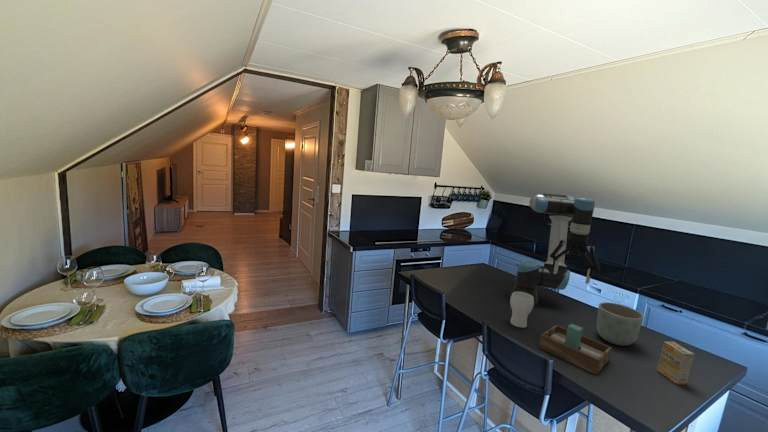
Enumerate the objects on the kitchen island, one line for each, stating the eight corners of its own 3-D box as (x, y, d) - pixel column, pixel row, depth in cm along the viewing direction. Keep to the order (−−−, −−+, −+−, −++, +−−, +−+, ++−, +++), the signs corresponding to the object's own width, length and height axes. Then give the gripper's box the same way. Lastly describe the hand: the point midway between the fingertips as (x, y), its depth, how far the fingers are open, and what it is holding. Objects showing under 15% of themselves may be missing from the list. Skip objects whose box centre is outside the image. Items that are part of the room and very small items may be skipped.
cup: (532, 330, 155) (537, 301, 153) (509, 327, 157) (513, 297, 155) (527, 320, 166) (531, 292, 163) (505, 317, 168) (509, 289, 165)
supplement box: (655, 370, 130) (663, 340, 128) (666, 371, 131) (674, 341, 129) (675, 385, 122) (683, 353, 120) (687, 385, 123) (695, 353, 121)
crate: (554, 336, 151) (556, 324, 150) (609, 360, 135) (611, 347, 134) (538, 347, 141) (540, 334, 140) (596, 374, 125) (598, 360, 124)
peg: (567, 349, 141) (571, 323, 139) (578, 354, 138) (583, 327, 136) (562, 352, 139) (567, 326, 137) (574, 357, 135) (579, 330, 133)
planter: (628, 336, 158) (635, 306, 155) (643, 354, 142) (650, 322, 139) (588, 328, 163) (594, 299, 160) (598, 345, 147) (605, 313, 144)
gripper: (546, 227, 151) (539, 271, 155) (608, 240, 133) (599, 289, 137) (553, 226, 156) (546, 268, 160) (614, 238, 138) (604, 285, 142)
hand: (570, 278), depth 148 cm, fingers open, 13 cm apart
